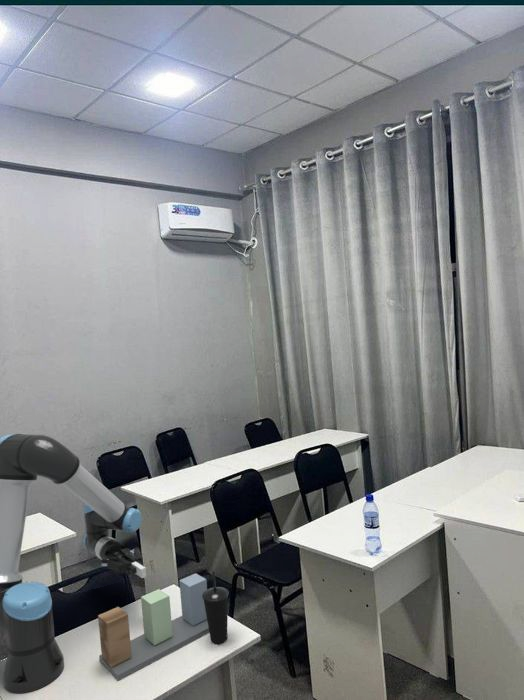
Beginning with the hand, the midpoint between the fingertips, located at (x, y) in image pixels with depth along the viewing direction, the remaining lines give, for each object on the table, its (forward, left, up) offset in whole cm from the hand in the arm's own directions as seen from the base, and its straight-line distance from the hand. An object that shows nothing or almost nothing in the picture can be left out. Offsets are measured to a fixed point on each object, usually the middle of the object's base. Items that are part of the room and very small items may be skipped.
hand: (143, 573), depth 156 cm
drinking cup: (+19, +13, -19) cm, 29 cm away
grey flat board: (+8, 0, -19) cm, 20 cm away
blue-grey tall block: (+7, +13, -17) cm, 22 cm away
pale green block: (+7, 0, -17) cm, 18 cm away
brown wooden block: (+7, -13, -17) cm, 22 cm away
